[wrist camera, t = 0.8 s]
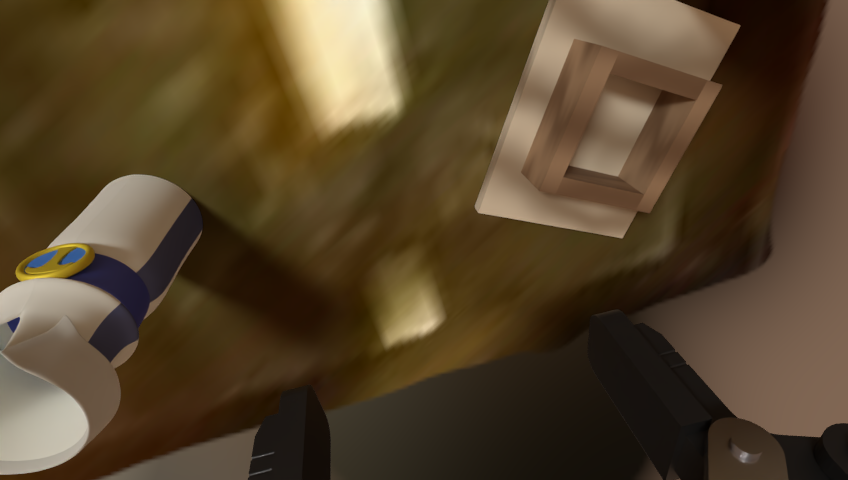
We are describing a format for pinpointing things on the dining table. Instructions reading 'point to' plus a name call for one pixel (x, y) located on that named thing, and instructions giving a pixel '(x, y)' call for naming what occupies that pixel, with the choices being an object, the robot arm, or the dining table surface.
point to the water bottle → (85, 317)
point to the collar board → (604, 112)
